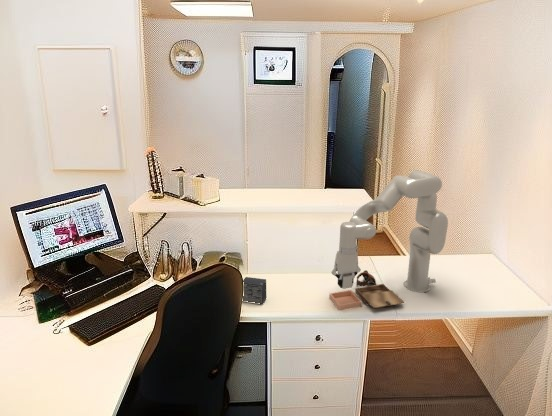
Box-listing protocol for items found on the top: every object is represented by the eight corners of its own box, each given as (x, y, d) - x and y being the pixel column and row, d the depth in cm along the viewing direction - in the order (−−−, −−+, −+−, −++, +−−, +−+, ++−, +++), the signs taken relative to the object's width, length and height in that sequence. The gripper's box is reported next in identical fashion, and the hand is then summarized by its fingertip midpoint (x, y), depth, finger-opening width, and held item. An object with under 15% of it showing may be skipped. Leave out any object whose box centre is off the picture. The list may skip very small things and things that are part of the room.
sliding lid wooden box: (383, 289, 212) (383, 282, 210) (404, 309, 194) (405, 301, 193) (354, 294, 207) (355, 286, 206) (373, 314, 190) (374, 306, 189)
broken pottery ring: (379, 291, 211) (373, 280, 207) (361, 297, 214) (355, 286, 210) (375, 274, 221) (369, 263, 217) (358, 280, 224) (352, 270, 220)
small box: (267, 298, 204) (266, 278, 201) (263, 305, 198) (262, 285, 195) (246, 295, 207) (245, 276, 204) (241, 302, 201) (241, 282, 198)
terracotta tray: (350, 295, 206) (351, 290, 205) (361, 307, 196) (361, 301, 195) (329, 299, 203) (329, 293, 202) (338, 311, 193) (339, 305, 192)
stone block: (347, 283, 199) (348, 271, 197) (351, 287, 195) (352, 275, 193) (338, 284, 198) (339, 272, 196) (342, 288, 194) (343, 277, 192)
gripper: (360, 244, 196) (358, 279, 202) (326, 248, 192) (325, 284, 198) (368, 250, 190) (365, 287, 195) (333, 254, 185) (331, 292, 191)
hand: (345, 285), depth 196 cm, fingers closed on stone block, 4 cm apart
